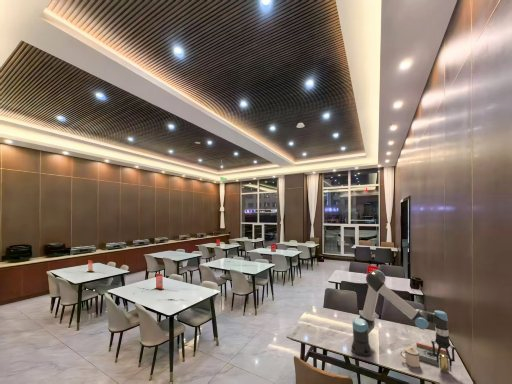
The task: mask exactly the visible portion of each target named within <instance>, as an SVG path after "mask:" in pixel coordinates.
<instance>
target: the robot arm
mask: <svg viewBox="0 0 512 384" xmlns="http://www.w3.org/2000/svg"><path fill="white" fill-rule="evenodd" d="M365 281H366V284H367V286H368V288H367V292H366V296H365V299H364V300H365V301H364V305H363V309H362V311H361V312H360V314H359V317H358V318H355V319H353V320H352V339H353V340H352V343H351V351H352V353H353V354H355V355H356V356H359V357H364V358H366V357H367V358H368V357H371V356H372V353H373V352H372V348H371V345H370V337H369V334H370V333H371V332H372V331H373V329H374V328H375V321H376V319H375V317H374V315H375V312H376V308H377V307H376V306H377V303H378V298H379V294H380V295H381V296H383V298H385V299H386V300H388V302H389V303H391V304H392V305H393V306H394V307H396V308H397V309H398V310H400V311H401V313H403V314H404V315H406V316H407V318H409V319H410V320H411V321H413V323H414V324H415V326H416V327H417V328H418V329H419V330H426V329H427V328H428V327H429V326H430V324H432V325H434V329H435V339H434V340H433V339H431V340H430V343H431V346H433V355H434V356H436V358H437V362H439V366H438V368H439V369H440V357H439V353H440V349H445V350H446V352H447V355H448V368H449V372H451V367H453V366H452V365H453V364H452V362H456V358H455V349H456V347H455V345H452V344H451V343H450V336H449V331H450V330H449V320H448V318H449V317H448V314H447V313H446V312H445V311H442V310H438V309H436V310H434V311H433V312H431V311H427V310H423V309H417V308H414V307H413V306H411V305H410V304H409V303H408V302H406V300H405V299H403V298H402V297H400V296H399V295H398V294H397V293H395V292H394V291H393V290H392V289H390V288H389V287H388V286H387V285H386V283H385V281H386V275H385V274H384V272H382V271H381V270H378V269H374V270H372V271H370V272H369V273H367V274H366V277H365ZM435 344H437V348H438V350H437V354H435V347H436V345H435ZM449 347H450V349H451V355H450V351H449ZM451 357H452V358H451Z"/></svg>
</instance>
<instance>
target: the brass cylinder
mask: <svg viewBox="0 0 512 384" xmlns="http://www.w3.org/2000/svg"><path fill="white" fill-rule="evenodd" d="M448 360H449V358H448V356H447V355H445V354H440V368H439V369H440V371H441V372H443V373H446V374H448V373H449V372H450V371H449V368H448Z"/></svg>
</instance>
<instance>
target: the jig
mask: <svg viewBox="0 0 512 384" xmlns="http://www.w3.org/2000/svg"><path fill="white" fill-rule="evenodd" d="M415 345H416V346H415V347H416V348H415V350H417V351H418V352H419V361H422V362H426V363H428V364H431V365H435V366H438V367H439V362H437V358H436V356H434V355H433V345H429V344H426V343H422V342H418V341H416V343H415ZM437 350H438V346H437V347H436V346H435V354H437ZM440 354H445V355H447V352H446V349H444V348H441V349H440V353H439V357H440ZM447 356H448V355H447Z"/></svg>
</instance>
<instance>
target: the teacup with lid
mask: <svg viewBox="0 0 512 384" xmlns="http://www.w3.org/2000/svg"><path fill="white" fill-rule="evenodd" d="M402 353H404V355H405V356H404V355H403V354H402ZM400 356H401V357H402V358H403V359H405V363H406V364H407V366H410V367H412V368H419V367H420V364H421V363H420V360H419V352H418V351H417V350H416V348H414V347H413V346H410V347H405V348H404V350H401V351H400Z"/></svg>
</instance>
